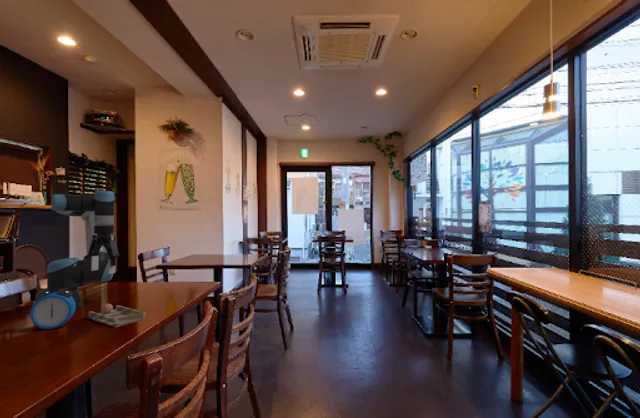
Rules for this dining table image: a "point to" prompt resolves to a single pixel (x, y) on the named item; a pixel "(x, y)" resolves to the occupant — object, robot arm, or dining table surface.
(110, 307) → the ball
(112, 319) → the lane
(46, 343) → the dining table surface
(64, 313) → the alarm clock
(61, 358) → the dining table surface
